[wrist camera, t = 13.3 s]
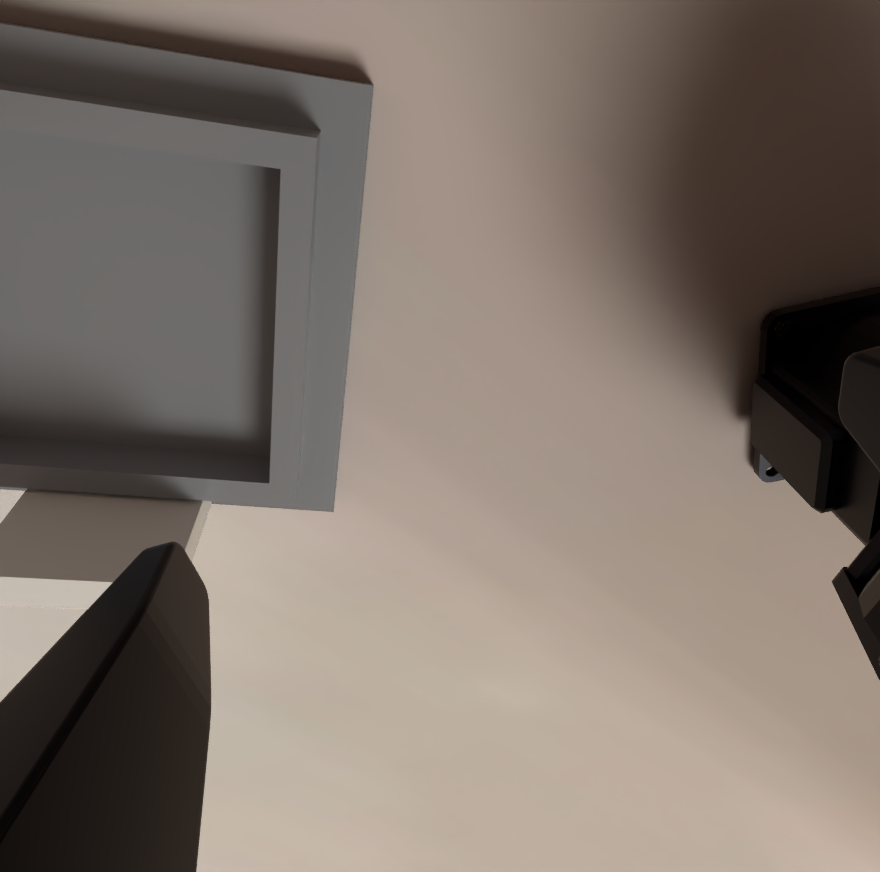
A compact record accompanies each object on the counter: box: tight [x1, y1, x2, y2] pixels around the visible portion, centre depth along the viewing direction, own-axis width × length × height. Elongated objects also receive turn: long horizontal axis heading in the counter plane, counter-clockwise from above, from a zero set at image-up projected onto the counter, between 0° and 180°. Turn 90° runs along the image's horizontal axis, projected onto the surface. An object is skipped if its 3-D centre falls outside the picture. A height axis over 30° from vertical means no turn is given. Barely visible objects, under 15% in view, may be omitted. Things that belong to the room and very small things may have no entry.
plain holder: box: [0, 22, 373, 610], centre depth 17 cm, size 13×13×6 cm
